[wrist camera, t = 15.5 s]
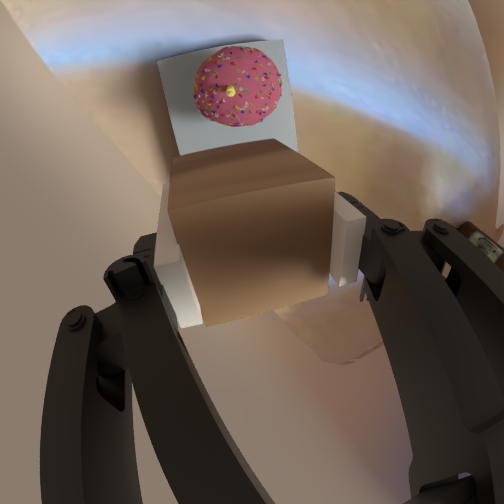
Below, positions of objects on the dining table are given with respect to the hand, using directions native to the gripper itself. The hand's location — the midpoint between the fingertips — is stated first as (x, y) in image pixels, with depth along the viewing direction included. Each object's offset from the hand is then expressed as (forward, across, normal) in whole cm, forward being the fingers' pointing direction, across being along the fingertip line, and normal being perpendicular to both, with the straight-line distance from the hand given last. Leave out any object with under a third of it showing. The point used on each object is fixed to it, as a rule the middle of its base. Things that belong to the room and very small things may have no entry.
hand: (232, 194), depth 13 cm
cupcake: (+19, +4, +5) cm, 20 cm away
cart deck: (+21, +4, +1) cm, 22 cm away
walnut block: (0, 0, 0) cm, 0 cm away
